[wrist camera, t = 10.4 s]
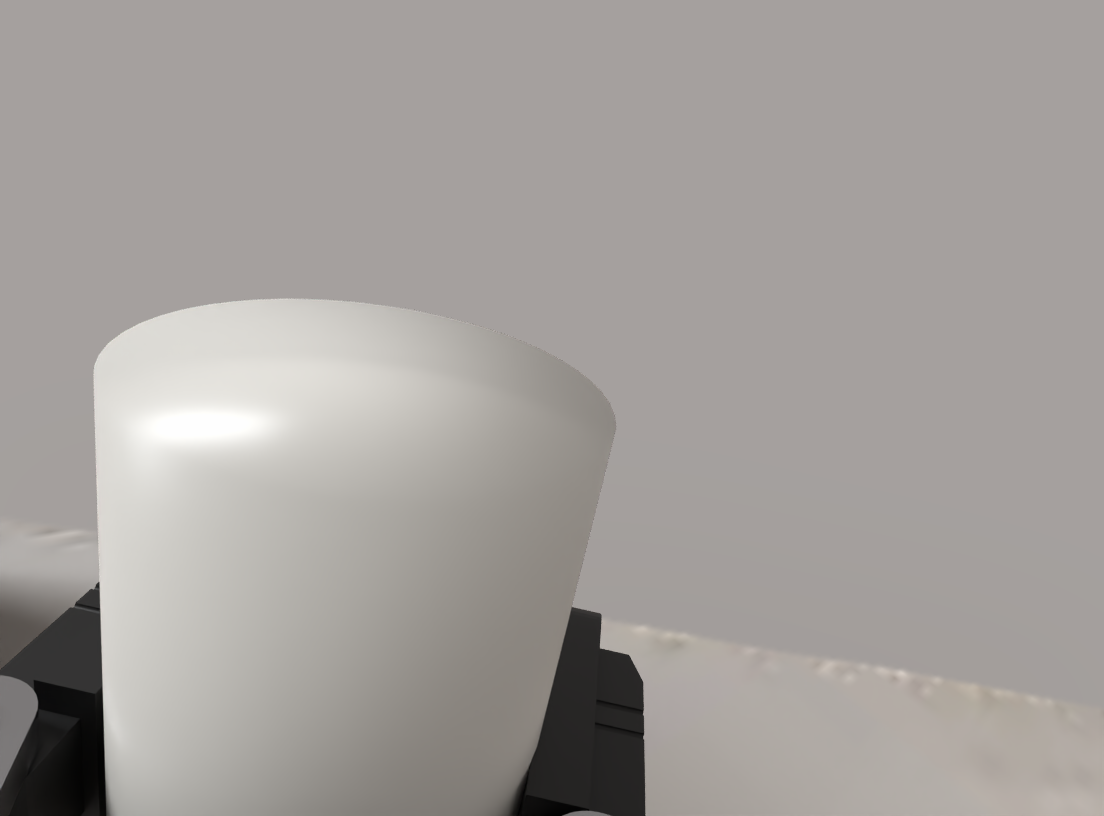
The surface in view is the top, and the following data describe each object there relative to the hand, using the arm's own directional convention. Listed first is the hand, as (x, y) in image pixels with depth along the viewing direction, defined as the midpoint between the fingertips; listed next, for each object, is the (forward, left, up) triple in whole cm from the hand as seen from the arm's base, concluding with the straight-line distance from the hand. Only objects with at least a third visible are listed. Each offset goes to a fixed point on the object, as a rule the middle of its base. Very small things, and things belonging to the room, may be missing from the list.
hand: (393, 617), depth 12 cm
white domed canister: (0, -3, -7) cm, 7 cm away
